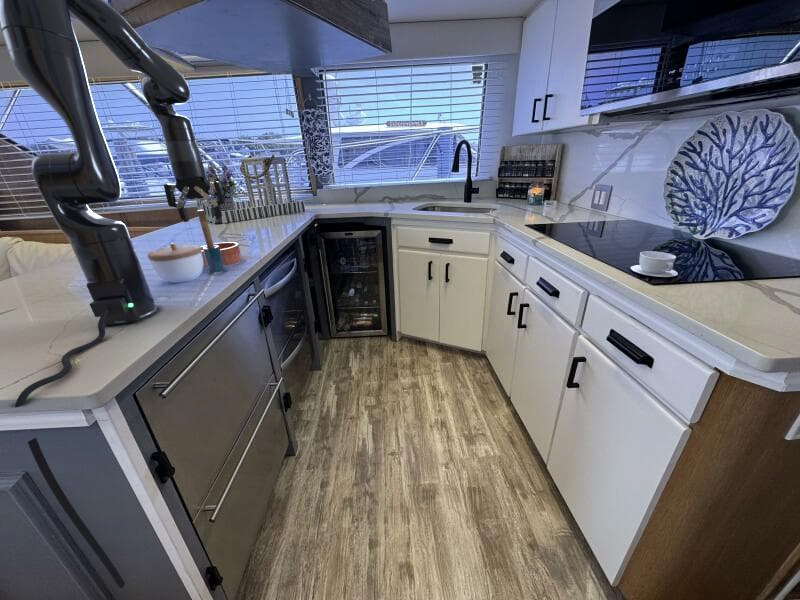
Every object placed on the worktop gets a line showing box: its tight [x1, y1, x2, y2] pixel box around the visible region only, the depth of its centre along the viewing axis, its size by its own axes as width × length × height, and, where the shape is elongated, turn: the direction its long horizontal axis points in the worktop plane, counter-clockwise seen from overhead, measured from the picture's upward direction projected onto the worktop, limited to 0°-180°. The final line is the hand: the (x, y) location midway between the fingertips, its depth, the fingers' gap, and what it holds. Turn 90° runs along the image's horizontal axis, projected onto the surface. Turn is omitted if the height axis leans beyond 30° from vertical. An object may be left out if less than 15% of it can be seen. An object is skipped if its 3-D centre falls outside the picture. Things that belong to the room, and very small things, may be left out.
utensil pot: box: [203, 245, 226, 273], centre depth 98 cm, size 4×4×8 cm
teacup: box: [630, 251, 679, 278], centre depth 83 cm, size 10×10×5 cm
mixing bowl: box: [200, 241, 243, 268], centre depth 107 cm, size 12×12×6 cm
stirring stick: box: [196, 209, 215, 248], centre depth 96 cm, size 2×2×18 cm
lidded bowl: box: [147, 242, 205, 284], centre depth 91 cm, size 13×13×11 cm
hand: (203, 220), depth 93 cm, fingers open, 8 cm apart
